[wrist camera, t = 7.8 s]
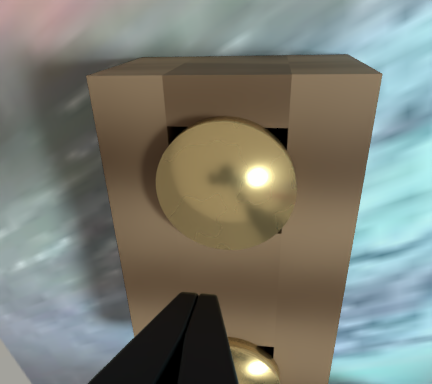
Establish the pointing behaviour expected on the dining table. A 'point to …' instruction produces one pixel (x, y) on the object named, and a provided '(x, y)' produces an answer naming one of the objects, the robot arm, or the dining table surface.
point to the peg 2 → (253, 363)
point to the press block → (291, 232)
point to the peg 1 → (227, 183)
